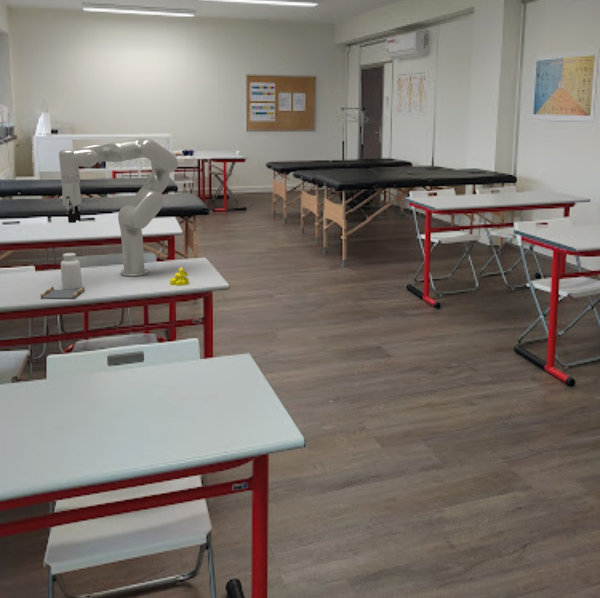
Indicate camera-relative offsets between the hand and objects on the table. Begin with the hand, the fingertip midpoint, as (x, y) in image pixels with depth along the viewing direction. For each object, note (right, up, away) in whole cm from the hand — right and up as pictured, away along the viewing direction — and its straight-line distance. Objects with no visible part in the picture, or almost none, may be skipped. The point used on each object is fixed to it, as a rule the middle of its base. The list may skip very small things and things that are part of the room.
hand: (74, 221), depth 297 cm
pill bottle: (0, -29, -2) cm, 29 cm away
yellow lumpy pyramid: (+45, -28, +4) cm, 53 cm away
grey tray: (-1, -32, -12) cm, 35 cm away
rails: (-1, -32, -12) cm, 35 cm away
